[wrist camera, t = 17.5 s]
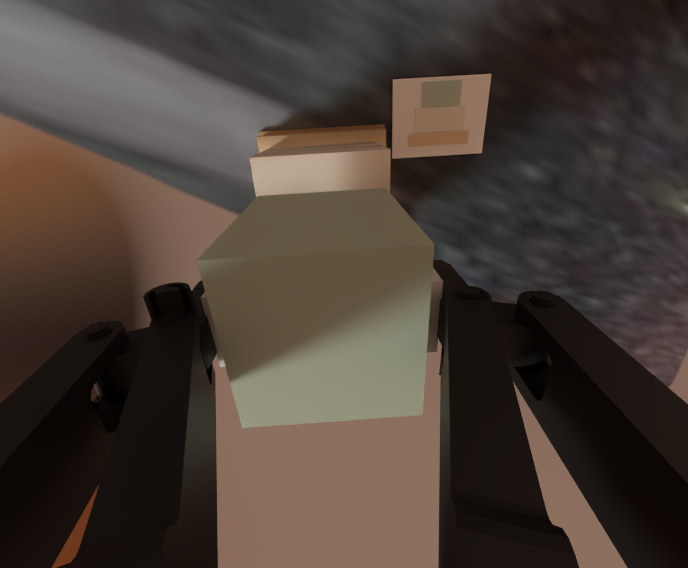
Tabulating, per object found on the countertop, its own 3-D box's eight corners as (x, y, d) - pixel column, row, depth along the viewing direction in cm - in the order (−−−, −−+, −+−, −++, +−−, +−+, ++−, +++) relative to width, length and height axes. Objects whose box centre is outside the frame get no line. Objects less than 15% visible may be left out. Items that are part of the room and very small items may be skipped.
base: (259, 131, 28) (252, 132, 25) (383, 124, 28) (390, 124, 25) (277, 249, 33) (273, 260, 30) (383, 242, 33) (389, 252, 30)
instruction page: (392, 79, 27) (393, 79, 26) (490, 73, 27) (492, 73, 27) (391, 158, 29) (392, 158, 29) (480, 152, 29) (482, 153, 29)
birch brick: (271, 147, 26) (249, 157, 19) (373, 141, 26) (390, 149, 19) (284, 244, 29) (270, 284, 22) (374, 238, 29) (389, 276, 22)
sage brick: (257, 195, 15) (196, 260, 8) (385, 187, 16) (434, 244, 8) (276, 306, 18) (242, 428, 11) (385, 299, 18) (422, 414, 11)
